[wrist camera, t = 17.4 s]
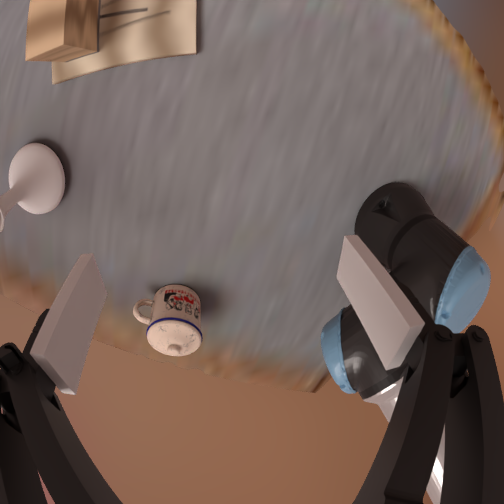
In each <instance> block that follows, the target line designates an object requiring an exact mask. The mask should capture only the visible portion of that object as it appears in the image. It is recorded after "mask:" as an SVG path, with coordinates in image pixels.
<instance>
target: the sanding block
mask: <svg viewBox="0 0 504 504" xmlns="http://www.w3.org/2000/svg"><path fill="white" fill-rule="evenodd" d="M100 7H101V0H30V6H29V14H28V23H27V36H26V61H53V62H69V61H72V60H75V59H78V58H81V57H84V56H88V55H91V54H94V53H98V52H99V25H100Z"/></svg>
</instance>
